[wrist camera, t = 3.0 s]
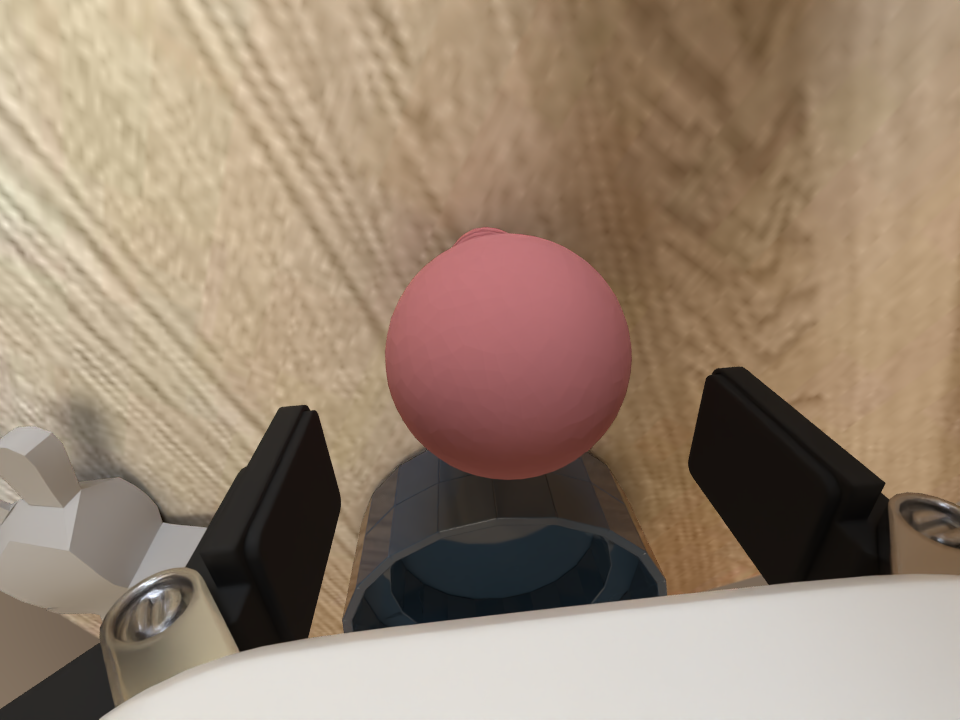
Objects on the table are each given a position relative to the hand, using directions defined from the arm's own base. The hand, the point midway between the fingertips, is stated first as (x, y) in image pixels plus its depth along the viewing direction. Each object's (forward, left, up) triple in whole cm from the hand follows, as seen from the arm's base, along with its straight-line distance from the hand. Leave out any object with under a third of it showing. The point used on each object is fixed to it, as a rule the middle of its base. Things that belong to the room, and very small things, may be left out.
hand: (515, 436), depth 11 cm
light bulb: (0, 0, -12) cm, 12 cm away
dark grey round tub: (+12, -13, -12) cm, 21 cm away
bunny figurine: (-8, -24, -12) cm, 28 cm away
